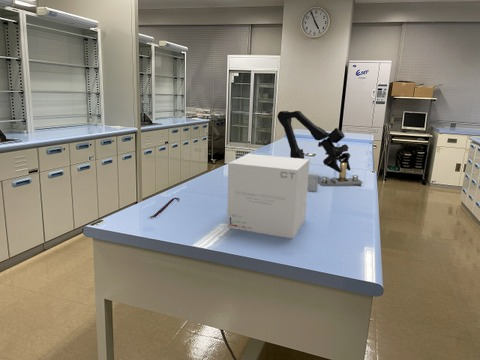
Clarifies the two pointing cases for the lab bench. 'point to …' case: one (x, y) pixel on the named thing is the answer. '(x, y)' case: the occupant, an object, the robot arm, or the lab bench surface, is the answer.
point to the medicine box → (312, 182)
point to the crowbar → (164, 207)
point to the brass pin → (342, 171)
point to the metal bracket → (336, 182)
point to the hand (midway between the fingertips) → (345, 171)
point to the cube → (267, 194)
